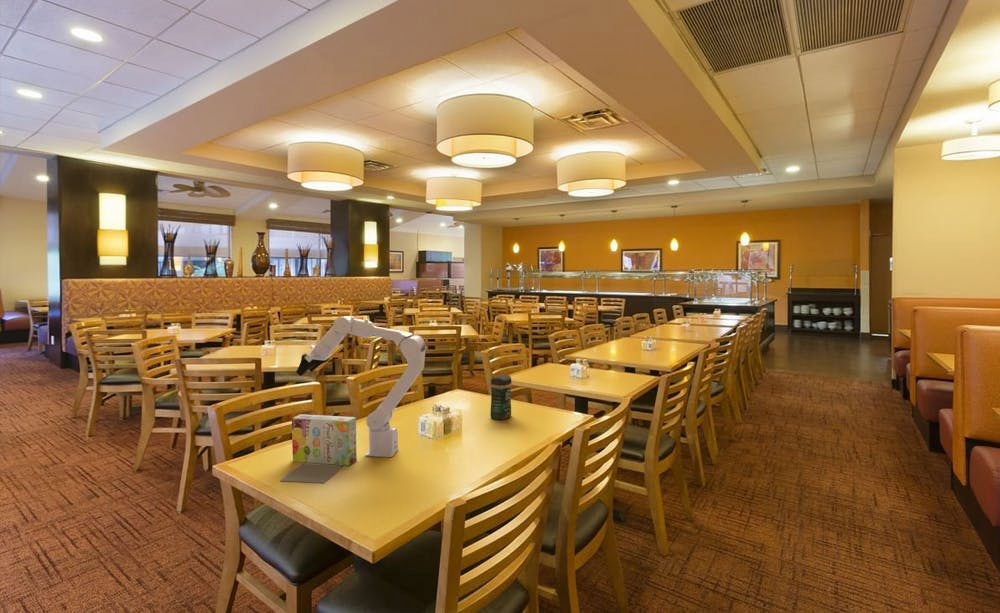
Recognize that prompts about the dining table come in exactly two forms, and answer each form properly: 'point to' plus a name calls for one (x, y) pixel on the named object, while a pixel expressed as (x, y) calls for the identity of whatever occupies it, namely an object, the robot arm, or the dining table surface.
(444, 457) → the dining table surface
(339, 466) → the mat
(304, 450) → the snack box
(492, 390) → the coffee jar
